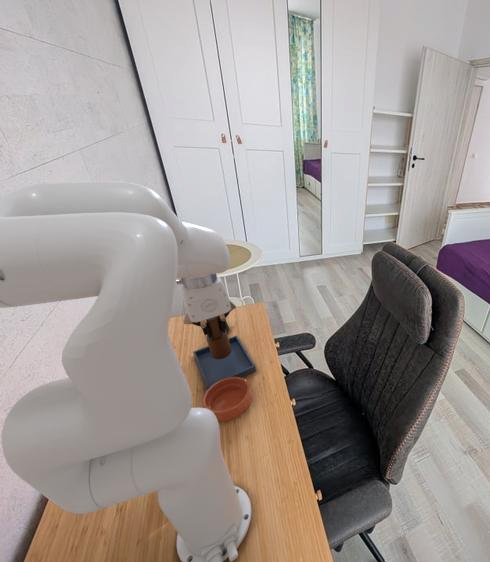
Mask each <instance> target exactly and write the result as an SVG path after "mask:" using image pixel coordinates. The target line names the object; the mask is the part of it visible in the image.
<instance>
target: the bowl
mask: <svg viewBox="0 0 490 562" xmlns="http://www.w3.org/2000/svg"><path fill="white" fill-rule="evenodd" d="M250 385H251V384H249V381H247V380H246V379H245V378H244V377H243V378H240V377H229V378H225V379H222V380H220V381H218V382H216V383H215V384H213V385H212V386H211V387H210V388H209V389H208V390H207V389H206V391H205V393H204V395H203V396H202V405H203V408H206V409H209V410H211V411H212V412H213V413H214V414H215V416H216V418H217V420H218V423H219V422H228V421H232V420H234V419H235V418H237V417H239V416H241V415H242V414H243V413H245V411H247V410H248V408H249V407H250V405H251V403H252V399H253V393H252V390H251V386H250Z"/></svg>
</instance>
